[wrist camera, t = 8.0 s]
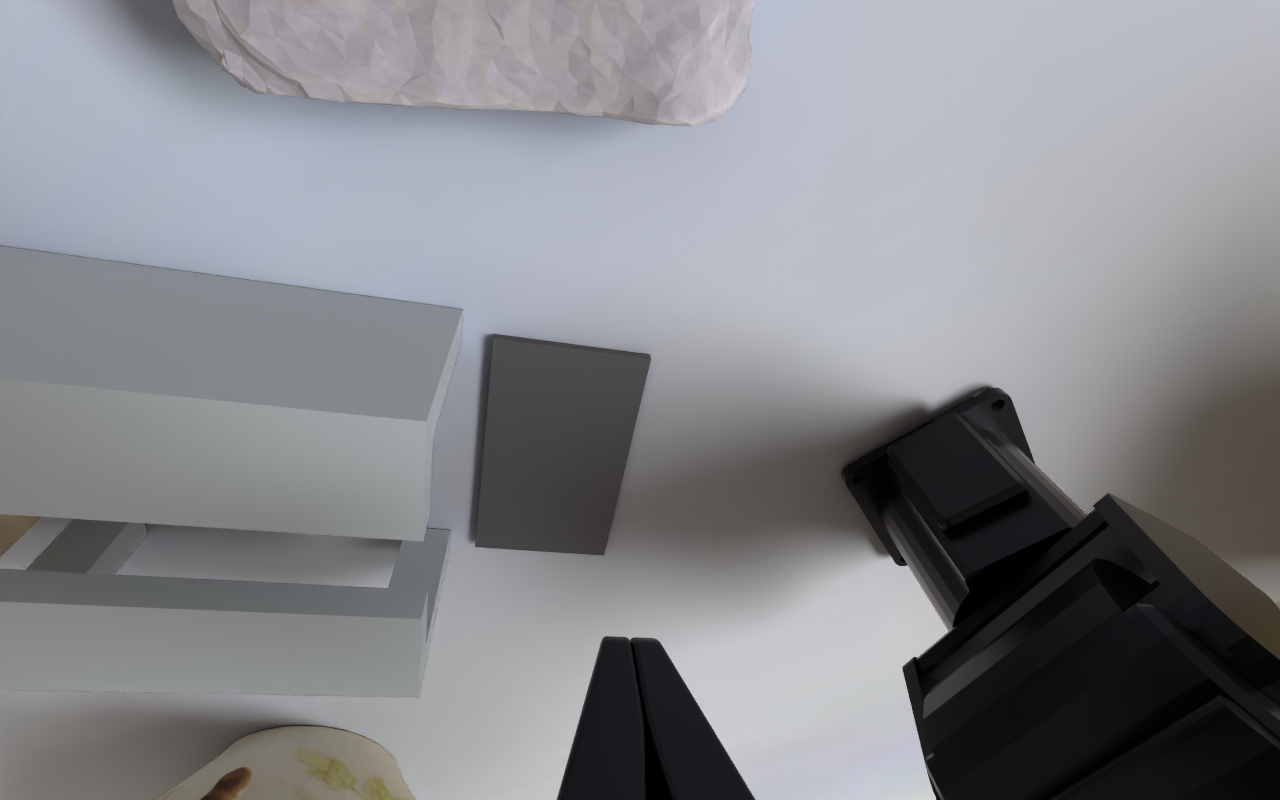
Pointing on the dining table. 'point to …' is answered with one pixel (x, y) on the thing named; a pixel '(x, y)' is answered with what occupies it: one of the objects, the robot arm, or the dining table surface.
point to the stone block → (489, 53)
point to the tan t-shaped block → (13, 529)
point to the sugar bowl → (297, 769)
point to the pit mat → (556, 444)
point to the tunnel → (214, 475)
